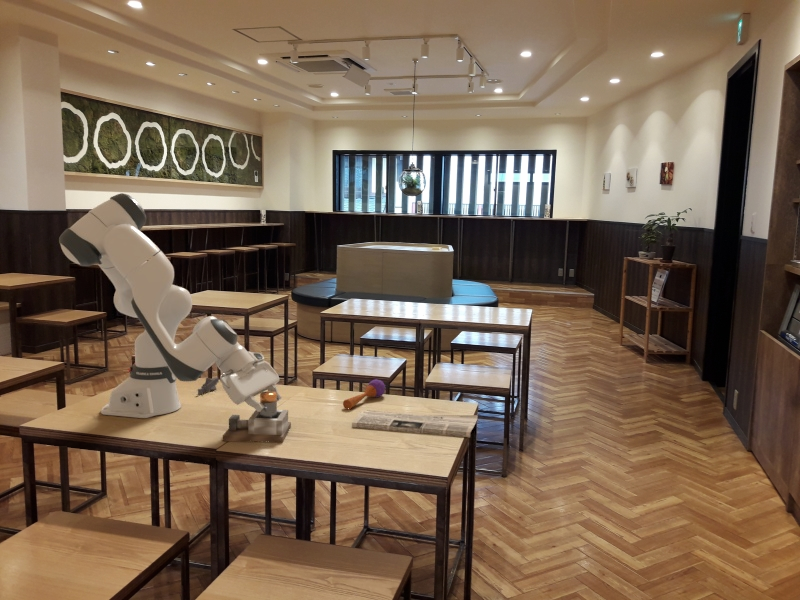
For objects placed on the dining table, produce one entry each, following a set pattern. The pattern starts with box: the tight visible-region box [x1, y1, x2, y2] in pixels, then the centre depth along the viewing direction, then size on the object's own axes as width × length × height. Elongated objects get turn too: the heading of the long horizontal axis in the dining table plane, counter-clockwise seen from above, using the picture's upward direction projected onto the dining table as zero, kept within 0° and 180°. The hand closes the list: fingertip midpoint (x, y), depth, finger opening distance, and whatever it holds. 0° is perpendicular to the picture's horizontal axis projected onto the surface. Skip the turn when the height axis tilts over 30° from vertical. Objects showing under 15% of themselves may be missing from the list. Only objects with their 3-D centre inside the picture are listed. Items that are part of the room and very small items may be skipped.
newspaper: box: [351, 409, 478, 438], centre depth 176 cm, size 35×12×4 cm, turn 79°
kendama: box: [342, 379, 386, 410], centre depth 198 cm, size 6×6×20 cm
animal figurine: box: [197, 377, 220, 396], centre depth 206 cm, size 12×4×5 cm, turn 164°
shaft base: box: [222, 409, 292, 443], centre depth 166 cm, size 16×12×6 cm
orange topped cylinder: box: [259, 390, 278, 419], centre depth 165 cm, size 4×4×10 cm
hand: (270, 404), depth 165 cm, fingers open, 8 cm apart
